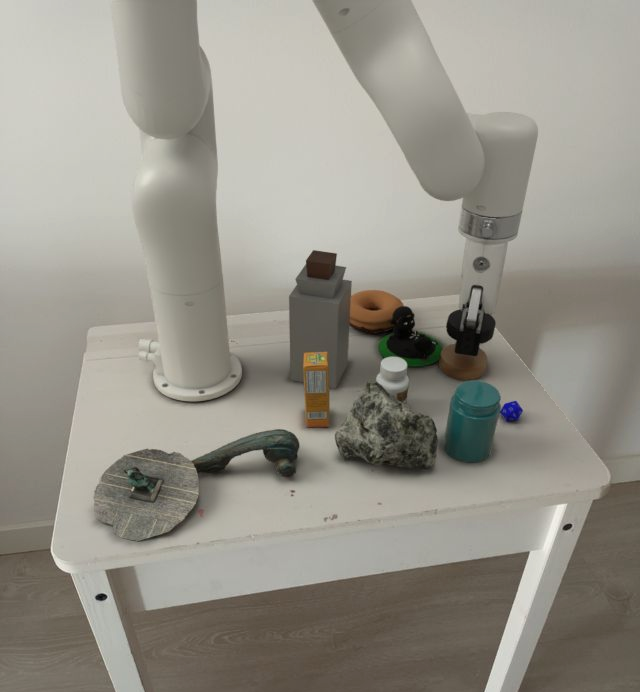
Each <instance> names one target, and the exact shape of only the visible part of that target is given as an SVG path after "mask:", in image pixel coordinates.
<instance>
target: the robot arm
mask: <svg viewBox="0 0 640 692" xmlns="http://www.w3.org/2000/svg"><path fill="white" fill-rule="evenodd" d="M109 1H110V8H111V9H110V11H111V21H112V26H113V27H112V28H113V35H114V41H115V42H114V43H115V50H116V57H117V64H118V73H119V81H120V82H119V84H120V93H121V97H122V101H123V105H124V107H125V109H126V112H127V115H128V116H129V117H130V119H131V120H132V122H133V123H134V125H135V126H136V127H137V128H138V131H139V139H140V145H141V146H140V147H141V154H142V155H141V158H140V160H139V162H138V165H137V167H136V169H135V172H134V176H133V179H132V183H131V196H130V197H131V199H130V200H131V209H132V214H133V219H134V223H135V227H136V231H137V234H138V238H139V242H140V246H141V250H142V254H143V259H144V264H145V271H146V276H147V282H148V286H149V291H150V292H149V293H150V297H151V305H152V309H153V316H154V322H155V327H156V333H157V334H156V335H157V339H158V341H156V340H153V339H147V338H140V339H139V340H138V344H137V349H138V355H137V357H138V360H139V361H143V362H149V363H150V362H151V363H152V364H153V365H155V366H154V368H153V372H152V377H153V382H154V386H155V387H156V389H157V390H158V391H159V392H160V393H161V394H162V395H164V396H166V397H168V398H169V399H174V400H177V401H182V402H204V401H210V400H214V399H217V398H219V397H222V396H224V395H226V394H228V393H229V392H231V391H233V389H235V388H236V387H237V386H238V384H239V383H240V381H241V380H242V376H243V367H242V363H241V361H240V359H238V357H237V356H236V354H233V353H232V352H230V343H229V330H228V320H227V319H228V318H227V308H226V307H227V305H226V295H225V294H226V293H225V284H224V274H223V263H222V255H221V253H222V252H221V245H220V244H221V243H220V237H219V236H220V235H219V227H218V215H217V214H218V213H217V212H218V211H217V191H218V175H219V174H218V173H219V163H218V160H219V159H218V147H217V146H218V145H217V133H216V119H215V117H216V116H215V106H214V91H213V89H214V88H213V78H212V70H211V66H210V62H209V59H208V56H207V55H206V53H205V51H204V49H203V47H202V46H201V45H200V35H199V24H198V23H199V22H198V0H109ZM311 1H312V3H313V4H314V6H315V8H316V10H317V11H318V14H319V15H320V17H321V19H322V21H323V22H324V24H325V26H326V28H327V29H328V31H329V32H330V35H331V37H332V38H333V40H334V42H335V44H336V45H337V47H338V49H339V51H340V53H341V55H342V56H343V58H344V60H345V62H346V64H347V65H348V67H349V69H350V70H351V72H352V74H353V76H354V77H355V79H356V81H357V82H358V83H359V84H360V86H361V87H362V89H363V90H364V91H365V93H366V94H367V95H368V97H369V98H370V99H371V101H372V102H373V104H374V106H375V107H376V109H377V110H378V111H379V114H380V115H381V117H382V118H383V120H384V122H385V123H386V125H387V127H388V129H389V130H390V132H391V134H392V136H393V138H394V139H395V142H397V145H398V147H399V148H400V150H401V152H402V153H403V155H404V158H405V161H406V162H407V164H408V166H409V167H410V169H411V170H412V173H413V174H414V175H415V177H416V179H417V181H418V183H419V185H420V187H421V188H422V190H423V191H424V192H425V193H427V195H429V196H430V197H432V198H434V199H435V200H439V201H443V202H454V201H457V200H461V199H462V200H461V206H460V214H459V221H458V228H457V230H458V232H459V234H460V235H461V236H462V237H464V238H465V243H464V251H463V258H462V266H461V272H460V273H461V274H460V283H459V297H458V310H459V309H460V310H461V311H462V310H463V314H462V319H461V325H460V327H458V333H457V339H456V340H455V343H456V345H455V353H457V354H463V355H470V356H477V355H478V350H479V348H480V345H481V344H480V340H481V334H482V330H481V324H482V319H483V314H484V312H485V313H486V314H490V315H491V316H493V315H494V314H495V312H496V309H497V308H496V307H497V304H498V298H499V292H500V288H501V283H502V278H503V273H504V266H505V263H506V257H507V251H508V244H509V242H511V241H513V240H515V239H517V237H518V236H519V235H518V234H519V229H520V224H521V220H522V215H523V210H524V205H525V201H526V200H525V199H526V196H527V190H528V186H529V181H530V176H531V171H532V167H533V161H534V156H535V151H536V147H537V142H538V136H539V127H538V124H537V122H536V121H535V120H534V119H533V118H532V117H530V116H528V115H526V114H523V113H517V112H512V111H511V112H510V111H495V112H489V113H485V114H481V113H480V114H479V113H470V112H466V109H465V107H464V105H463V103H462V101H461V99H460V97H459V95H458V93H457V91H456V89H455V87H454V85H453V83H452V81H451V79H450V77H449V75H448V73H447V71H446V70H445V67H444V65H443V64H442V62H441V60H440V57H439V56H438V54H437V52H436V49H435V47H434V45H433V42H432V41H431V37H430V35H429V33H428V32H427V30H426V28H425V25H424V23H423V21H422V19H421V18H420V15H419V13H418V12H417V9H416V7H415V5H414V3H413V1H412V0H311ZM467 313H468V316H467V319H466V314H467ZM477 314H479V319H478V320H476V319H477Z"/></svg>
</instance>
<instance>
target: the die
mask: <svg viewBox="0 0 640 692" xmlns="http://www.w3.org/2000/svg"><path fill="white" fill-rule="evenodd" d="M523 413H524V409H523V408H522V407H521V405H520V404H519V402H518V401H517V400H513V401H509V402H505V403H504V404H503V405H502V406H501V410H500V415H501V417H503V419H504V420H505V421H506V422H507V423H510V422H514V421H518V420H519V419H520V417H521V415H522V414H523Z"/></svg>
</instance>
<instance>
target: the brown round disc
mask: <svg viewBox="0 0 640 692" xmlns="http://www.w3.org/2000/svg"><path fill="white" fill-rule="evenodd" d="M455 345H456V342H454V343H450V344H448V345H445V346H444V347H442V348H443V349H442V351H441V355H440V359H439V362H438V367H439V369H440V370H441V372H442V373H444V374H445V375H446V376H447V377H450V378H453V379H456V380H462V381H472V380H476V379H479V378H481V377H482V376H483V375H484V374H485V372H486V368H487V364H488V355H487V354H486V352H485V351H484V349H481V348H480V347H479V350H478V355H477V356H470V355H463V354H457V353H455Z"/></svg>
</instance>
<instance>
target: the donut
mask: <svg viewBox="0 0 640 692" xmlns="http://www.w3.org/2000/svg"><path fill="white" fill-rule="evenodd" d="M401 306H405V305H404V302H403V301H402V300H401V299H400V298H398V297H397V296H395V295H394V294H392V293H390V292H387V291H384V290H381V289H380V290H379V289H367V290H362V291H358V292H355V293H353V294H351V305H350V325H349V327H351V328H352V329H355V330H357V331H358V330H359V332H365V333H370V334H377V333H381V332H387V331H390V330H393V327H394V325H392V324H391V321H392V315H393V312H394V311H395V310H396V309H397V308H398V307H401Z"/></svg>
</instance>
